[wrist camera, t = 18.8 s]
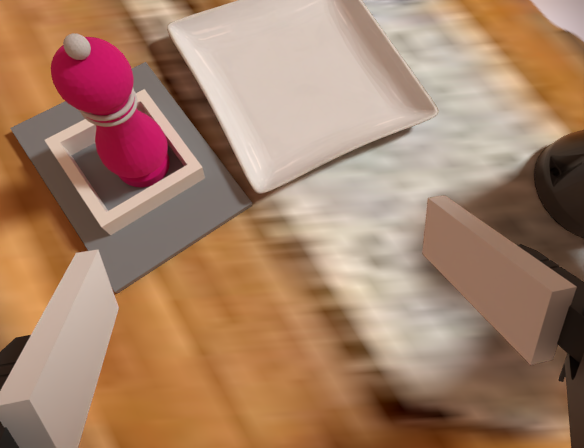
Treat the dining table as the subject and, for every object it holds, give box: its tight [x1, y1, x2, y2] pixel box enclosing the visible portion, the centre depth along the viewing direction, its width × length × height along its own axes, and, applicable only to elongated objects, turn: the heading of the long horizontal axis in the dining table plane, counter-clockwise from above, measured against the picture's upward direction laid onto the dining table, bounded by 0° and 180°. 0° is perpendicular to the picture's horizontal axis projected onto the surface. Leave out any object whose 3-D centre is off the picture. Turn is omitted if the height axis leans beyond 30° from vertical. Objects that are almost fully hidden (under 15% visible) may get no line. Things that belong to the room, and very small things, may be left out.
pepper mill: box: [51, 34, 170, 187], centre depth 38 cm, size 7×7×20 cm
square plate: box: [167, 0, 439, 194], centre depth 53 cm, size 27×27×4 cm
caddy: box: [10, 62, 252, 293], centre depth 46 cm, size 18×24×4 cm
